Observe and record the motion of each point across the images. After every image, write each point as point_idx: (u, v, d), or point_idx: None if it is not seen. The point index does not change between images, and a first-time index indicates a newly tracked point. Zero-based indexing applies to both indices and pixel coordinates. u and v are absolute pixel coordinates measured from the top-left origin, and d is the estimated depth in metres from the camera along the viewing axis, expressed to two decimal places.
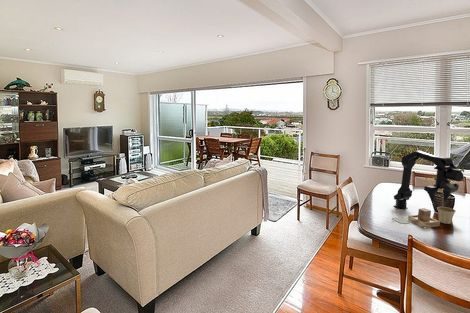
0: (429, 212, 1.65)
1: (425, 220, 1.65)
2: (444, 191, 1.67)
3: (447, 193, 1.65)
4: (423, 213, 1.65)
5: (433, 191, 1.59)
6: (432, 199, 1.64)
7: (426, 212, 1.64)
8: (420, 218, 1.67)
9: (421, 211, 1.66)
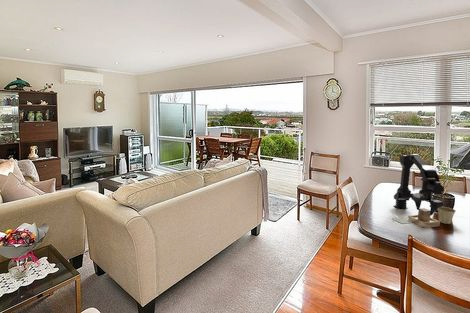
0: (429, 212, 1.65)
1: (425, 220, 1.65)
2: None
3: None
4: (423, 213, 1.65)
5: (410, 196, 1.73)
6: None
7: (426, 212, 1.64)
8: (420, 218, 1.67)
9: (421, 211, 1.66)
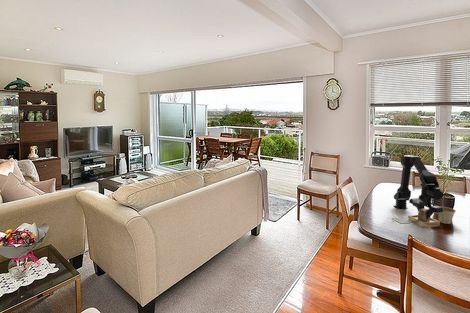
0: None
1: (425, 220, 1.65)
2: None
3: None
4: (423, 213, 1.65)
5: (410, 201, 1.73)
6: None
7: (426, 212, 1.64)
8: (420, 218, 1.67)
9: (421, 211, 1.66)
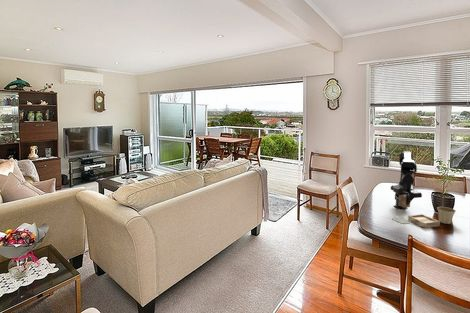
0: None
1: (405, 206, 1.67)
2: None
3: None
4: (403, 199, 1.67)
5: (391, 188, 1.76)
6: None
7: (406, 198, 1.66)
8: (400, 204, 1.70)
9: (401, 197, 1.69)
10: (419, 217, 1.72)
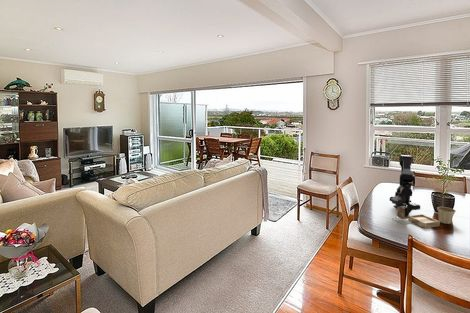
0: None
1: (404, 217, 1.69)
2: None
3: None
4: (402, 210, 1.69)
5: (390, 199, 1.77)
6: None
7: None
8: (399, 215, 1.71)
9: (400, 209, 1.70)
10: (419, 217, 1.72)
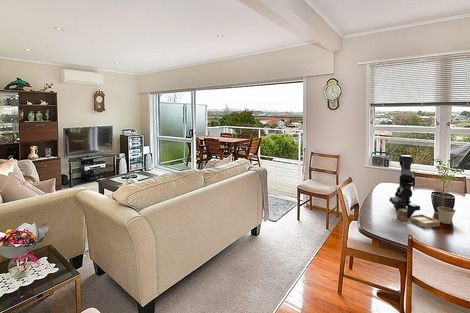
0: None
1: (403, 220, 1.69)
2: None
3: None
4: (401, 213, 1.69)
5: (390, 200, 1.77)
6: None
7: (404, 212, 1.68)
8: (399, 218, 1.71)
9: (400, 211, 1.70)
10: (419, 217, 1.72)
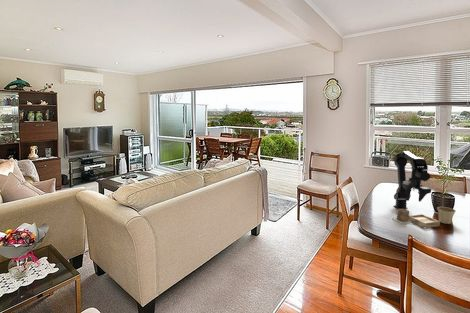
0: (407, 212, 1.69)
1: (403, 220, 1.69)
2: None
3: None
4: (401, 213, 1.69)
5: (401, 184, 1.82)
6: None
7: (404, 212, 1.68)
8: (399, 218, 1.71)
9: (400, 211, 1.70)
10: (419, 217, 1.72)
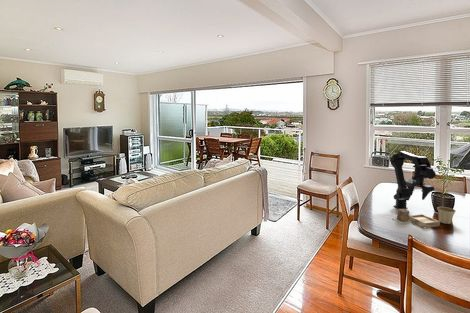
0: (407, 212, 1.69)
1: (403, 220, 1.69)
2: None
3: None
4: (401, 213, 1.69)
5: (403, 183, 1.83)
6: None
7: (404, 212, 1.68)
8: (399, 218, 1.71)
9: (400, 211, 1.70)
10: (419, 217, 1.72)
